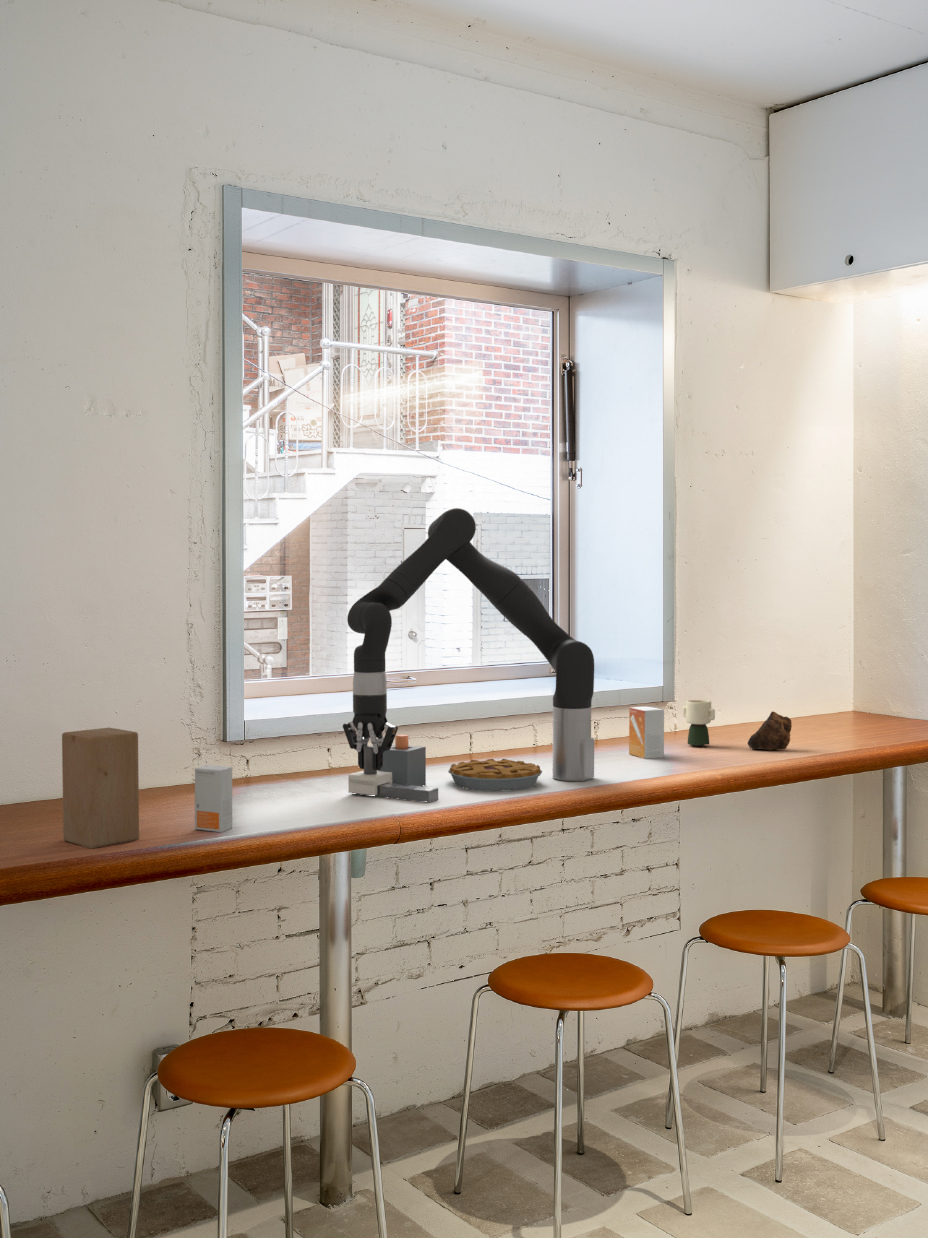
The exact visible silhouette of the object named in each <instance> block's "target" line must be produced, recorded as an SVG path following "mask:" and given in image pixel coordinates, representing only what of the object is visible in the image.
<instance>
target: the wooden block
mask: <svg viewBox="0 0 928 1238" xmlns="http://www.w3.org/2000/svg"><path fill="white" fill-rule="evenodd" d="M138 733H139V732H137V731H131V730H127V729H126V730H125V729H120V728H113V727H102V728H93V729H84V730H74V731H65V732H62V735H61V755H62V756H61V757H62V760H61V764H62V771H61V772H62V830H63V831H62V834H63V835H62V836H63V837H62V838H63V840H64V841H66V842H69V843H72V844H75V845H79V846H81V847H86V848H88V849H97V848H101V847H108V846H111V845H116V844H117V845H118V844H122V843H129V842H131V841H132V842H133V841H137V840H139V839H140V808H139V807H140V804H139V803H140V802H139V801H140V799H139V797H140V795H139V792H140V791H139V788H140V787H139V783H140V782H139V781H140V780H139V734H138Z"/></svg>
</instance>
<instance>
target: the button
mask: <svg viewBox="0 0 928 1238" xmlns="http://www.w3.org/2000/svg"><path fill="white" fill-rule="evenodd" d="M394 741H395V742H394V743H395V744H394V745H395V749H404V750H405V749H408V745H409V735H408V734H396V735H395V738H394Z"/></svg>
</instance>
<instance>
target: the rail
mask: <svg viewBox="0 0 928 1238" xmlns="http://www.w3.org/2000/svg"><path fill="white" fill-rule="evenodd" d="M357 794H358V793H356V794H355V795H357ZM366 795H367V794H362V795H361V796H366ZM375 796H379V797H378V798H384V797H388V798H387V799H392V798H399V799H398V800H401V799H406V800H405V801H410V800H415V801H414V802H419V801H427V802H426V803H428V802H429V803H431V802H430V801H432V802H434V801H433V800H435V801H437V799H438V800H439V787H432V786H415V785H405V784H395V783H384V784H381V785H378V786H377V795H375ZM375 796H374V797H375Z"/></svg>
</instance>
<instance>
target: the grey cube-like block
mask: <svg viewBox="0 0 928 1238" xmlns="http://www.w3.org/2000/svg"><path fill="white" fill-rule="evenodd" d="M426 749H427V747H426V746H423V745H421V746H420V745H411V744H410V745H409V744H408V749H405V750H404V749H395V744H392V746H391V749H390V750H387V751H384V752H383V766H382V767H381V769H380V770H377V771H383V772H392V783H395V784H405V785H415V786H423V785H425V786H426V784H427V782H426V781H427V778H426V777H427V775H426V774H427V773H426V772H427V771H426V770H427V766H426V765H427V761H426V756H427V753H426Z"/></svg>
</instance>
